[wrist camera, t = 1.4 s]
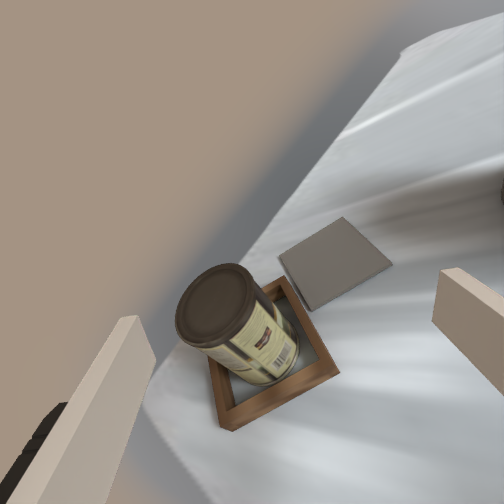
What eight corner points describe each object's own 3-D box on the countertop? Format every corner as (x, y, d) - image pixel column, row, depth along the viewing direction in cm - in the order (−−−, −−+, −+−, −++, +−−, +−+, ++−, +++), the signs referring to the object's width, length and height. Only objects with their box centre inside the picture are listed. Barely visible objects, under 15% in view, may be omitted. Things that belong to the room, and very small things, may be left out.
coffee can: (243, 317, 45) (192, 267, 36) (303, 315, 40) (261, 257, 31) (226, 383, 39) (160, 343, 30) (295, 391, 34) (239, 347, 25)
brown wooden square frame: (291, 285, 45) (283, 275, 43) (340, 372, 33) (333, 363, 31) (212, 332, 46) (201, 324, 44) (232, 431, 34) (219, 426, 33)
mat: (343, 219, 48) (342, 216, 48) (392, 265, 39) (391, 262, 38) (280, 257, 50) (279, 255, 49) (312, 311, 40) (310, 309, 40)
